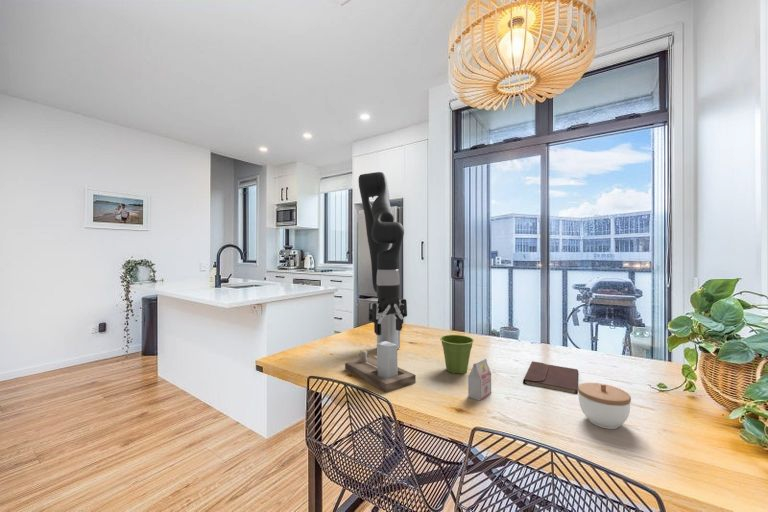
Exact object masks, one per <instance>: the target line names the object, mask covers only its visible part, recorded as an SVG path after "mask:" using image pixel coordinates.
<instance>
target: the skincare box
mask: <svg viewBox="0 0 768 512" xmlns="http://www.w3.org/2000/svg"><path fill="white" fill-rule="evenodd" d="M376 358H377V368H378V376H379V377H381V378H383V379H389V378H392V377H395V376H398V366H399V365H398V350H397V345H396V344H393V343H390V342H387V341H384V342H380V343H377V342H376Z"/></svg>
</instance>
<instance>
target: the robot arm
mask: <svg viewBox="0 0 768 512" xmlns="http://www.w3.org/2000/svg"><path fill="white" fill-rule="evenodd" d="M358 190H359V194H360V198H361V203H362V204H361V205H362V208H363V209H362V210H363V213H364V219H365V221H364V222H365V229H366V237H367V243H368V249H369V255H370V256H369V257H370V263H371V277H372V278H371V279H372V280H371V281H372V282H371V283H372V286H373V287H372V288H373V290H374V292H375V293H376V298H377V302H374V303H373V302H370V303H369V304H368V322H371V323H373V326H374V329H373V330H374V331H373V332H374V334H375V335H376V344H377V343H380V342H384V341H387V342H390V343H393V344H396V345H397V349H398V348H400V349H401V331H402V329H403V319H404V318H406V317H407V316H408V307H407V303H408V302H407V299H405V298H400V297H401V292H400V291H401V287H400V279H401V278H400V277H401V276H400V269H399V268H400V265H399V263H400V262H399V260H400V250H401V247H402V242H403V240H404V235H405V228H404V226H403V225H402V223H400V222H398V221H395V217H394V216H395V215H394V213H393V210H392V207H391V203H390V193H389V185H388V181H387V177H386V175H385V173H384V172H382V171H377V172H376V171H375V172H369V173H362V174H359V176H358ZM373 197H376V198H375V199H374V201H373V202H372V203H371V201H370V198H373ZM391 244H392V245H391ZM390 245H391V247H390ZM398 350H399V349H398Z"/></svg>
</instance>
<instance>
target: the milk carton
mask: <svg viewBox="0 0 768 512" xmlns="http://www.w3.org/2000/svg"><path fill="white" fill-rule="evenodd" d="M467 376H468V377H467V379H468V380H467V382H468V383H467V384H468V385H467V386H468V387H467V391H468V392H467V394H468V395H467V397H468V398H471V399H473V400H474V399H475V400H477V401H481V400H483V399H485V398H486V397H488V396H489V395H490V394H492V372H491V369H490V367H489V363H488V361H487V358H482V359H481V360H479V361H476V362H474V363H473V365H472V368H471V370H470V372H469V374H468V375H467Z"/></svg>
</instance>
